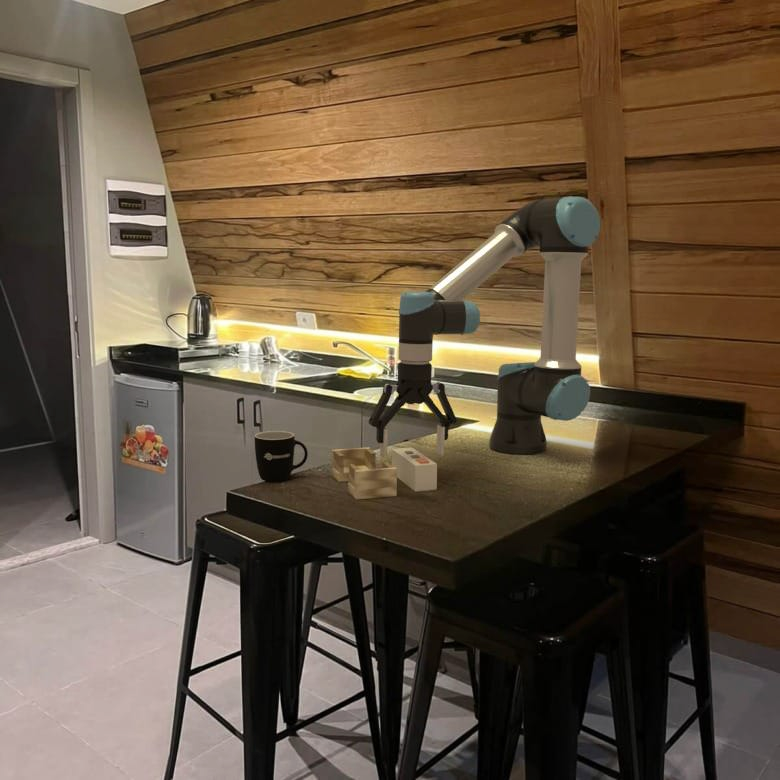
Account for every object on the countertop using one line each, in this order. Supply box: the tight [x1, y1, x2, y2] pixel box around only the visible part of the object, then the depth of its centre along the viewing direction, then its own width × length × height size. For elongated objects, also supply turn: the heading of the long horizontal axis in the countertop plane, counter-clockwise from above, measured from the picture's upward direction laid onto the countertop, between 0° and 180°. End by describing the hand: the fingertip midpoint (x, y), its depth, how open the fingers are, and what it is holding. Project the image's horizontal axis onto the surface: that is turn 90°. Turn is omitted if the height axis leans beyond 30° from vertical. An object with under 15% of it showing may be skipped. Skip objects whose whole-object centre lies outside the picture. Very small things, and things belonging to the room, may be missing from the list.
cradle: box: [331, 446, 398, 501], centre depth 176 cm, size 9×20×6 cm, turn 19°
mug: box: [254, 430, 309, 483], centre depth 181 cm, size 12×9×10 cm
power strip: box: [391, 447, 438, 492], centre depth 180 cm, size 5×16×6 cm, turn 19°
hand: (412, 455), depth 180 cm, fingers open, 13 cm apart
